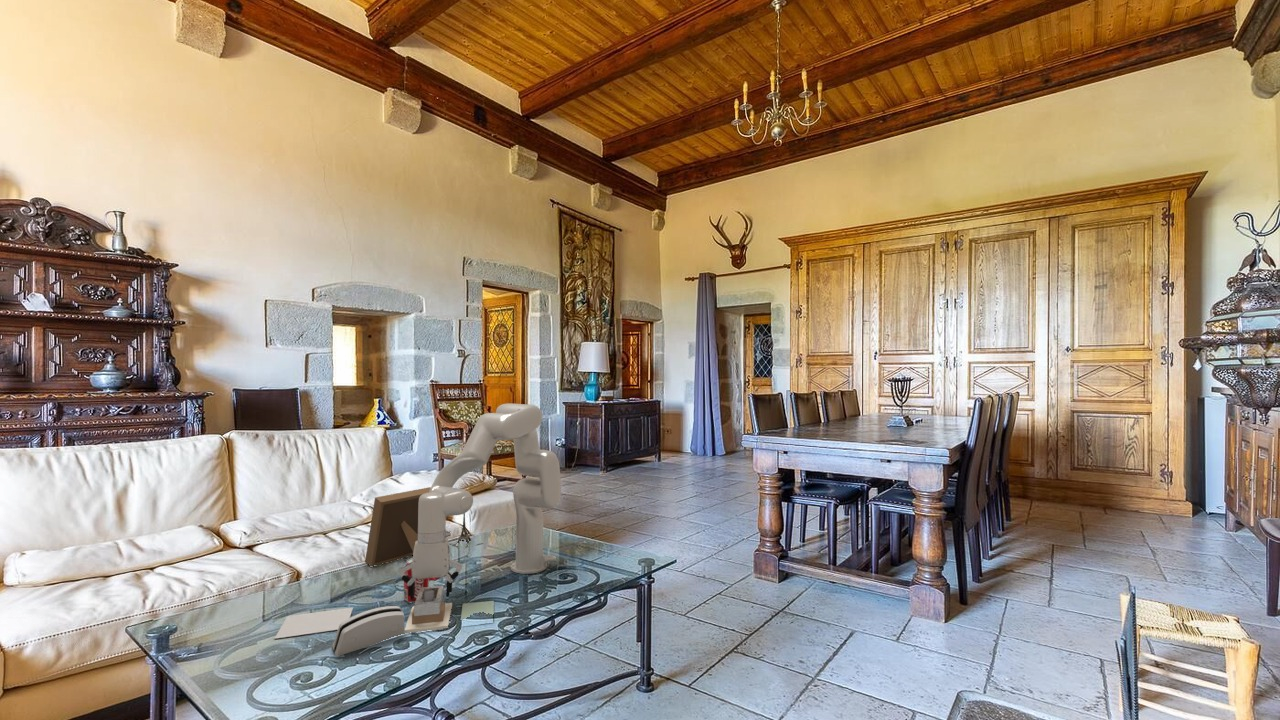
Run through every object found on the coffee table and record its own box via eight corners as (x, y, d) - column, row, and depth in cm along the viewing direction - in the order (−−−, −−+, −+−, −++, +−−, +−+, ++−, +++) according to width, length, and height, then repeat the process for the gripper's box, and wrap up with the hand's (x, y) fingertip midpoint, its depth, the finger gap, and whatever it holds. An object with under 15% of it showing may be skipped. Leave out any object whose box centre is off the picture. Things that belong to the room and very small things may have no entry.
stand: (452, 606, 164) (452, 577, 164) (447, 630, 150) (448, 597, 150) (412, 610, 162) (412, 580, 162) (404, 634, 147) (404, 601, 147)
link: (443, 596, 162) (443, 585, 162) (439, 613, 150) (439, 602, 150) (420, 598, 160) (420, 587, 160) (414, 616, 149) (414, 604, 149)
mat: (493, 602, 167) (493, 600, 167) (493, 623, 154) (493, 621, 154) (462, 605, 165) (462, 603, 165) (459, 627, 152) (459, 624, 152)
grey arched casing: (398, 627, 151) (403, 596, 149) (404, 639, 148) (409, 608, 145) (330, 649, 139) (334, 615, 137) (335, 662, 136) (339, 628, 134)
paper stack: (294, 605, 166) (294, 602, 166) (386, 593, 174) (386, 591, 175) (274, 641, 144) (274, 638, 144) (380, 625, 153) (380, 623, 153)
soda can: (433, 596, 171) (434, 557, 172) (417, 605, 165) (418, 565, 165) (415, 593, 174) (415, 555, 174) (398, 602, 167) (399, 562, 167)
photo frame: (364, 564, 198) (366, 495, 198) (420, 549, 216) (421, 485, 216) (387, 574, 190) (389, 501, 190) (442, 557, 207) (444, 490, 207)
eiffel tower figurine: (441, 542, 226) (441, 509, 226) (463, 537, 233) (463, 505, 234) (461, 550, 216) (461, 516, 216) (484, 544, 224) (484, 511, 224)
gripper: (463, 531, 165) (462, 589, 165) (401, 534, 161) (400, 594, 161) (462, 538, 158) (461, 599, 158) (397, 542, 154) (395, 604, 153)
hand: (430, 596), depth 159 cm, fingers open, 9 cm apart
